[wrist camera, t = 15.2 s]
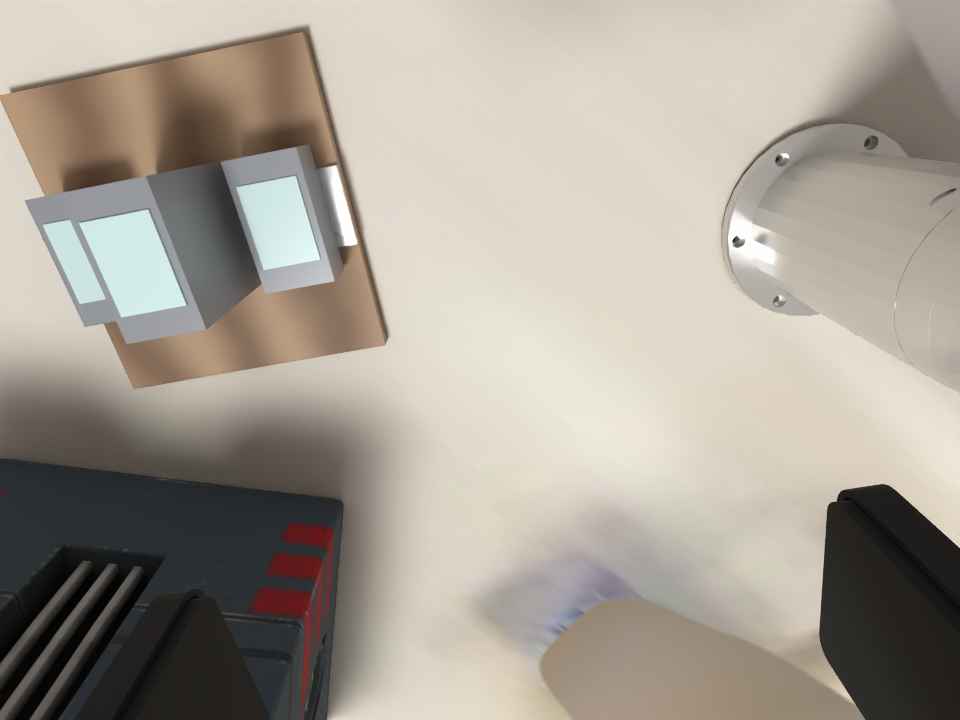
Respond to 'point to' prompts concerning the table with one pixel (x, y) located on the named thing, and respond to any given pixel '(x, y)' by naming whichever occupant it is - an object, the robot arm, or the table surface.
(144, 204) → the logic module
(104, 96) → the board
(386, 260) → the table surface
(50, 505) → the power unit
